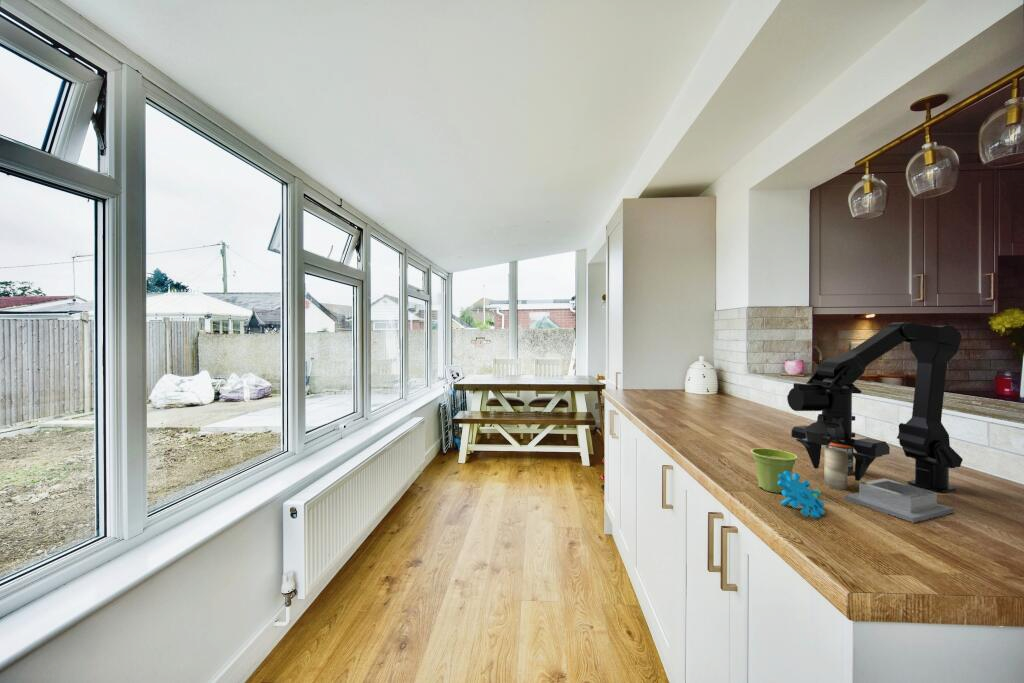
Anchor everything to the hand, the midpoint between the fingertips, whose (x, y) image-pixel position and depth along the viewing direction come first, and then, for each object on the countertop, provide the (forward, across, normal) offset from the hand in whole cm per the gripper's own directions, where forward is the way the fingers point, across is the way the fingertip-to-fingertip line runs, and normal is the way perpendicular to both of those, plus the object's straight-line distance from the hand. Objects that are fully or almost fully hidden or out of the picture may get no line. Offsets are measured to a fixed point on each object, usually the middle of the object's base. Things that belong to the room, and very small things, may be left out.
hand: (836, 474), depth 97 cm
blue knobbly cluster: (+3, +7, -22) cm, 23 cm away
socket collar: (+2, +12, 0) cm, 12 cm away
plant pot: (+3, -4, -16) cm, 17 cm away
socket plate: (+3, +12, 0) cm, 12 cm away
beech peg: (+3, 0, 0) cm, 3 cm away
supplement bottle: (+3, -7, +13) cm, 15 cm away
